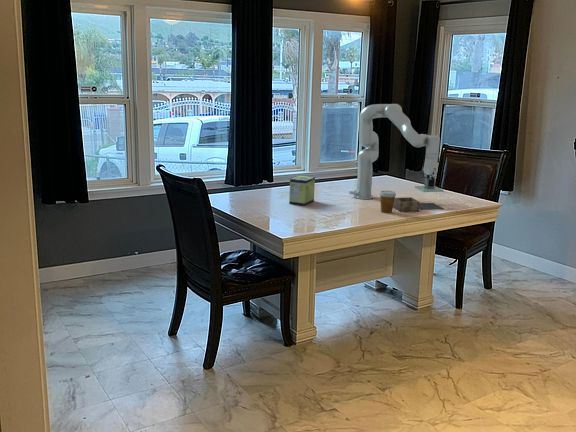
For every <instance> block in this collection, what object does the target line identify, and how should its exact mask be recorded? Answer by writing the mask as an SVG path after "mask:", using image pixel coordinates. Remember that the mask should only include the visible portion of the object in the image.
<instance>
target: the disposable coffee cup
mask: <svg viewBox="0 0 576 432" xmlns="http://www.w3.org/2000/svg"><path fill="white" fill-rule="evenodd" d="M396 195H397V194H396V192H395V191H392V190H381V191H380V193H379V197H380V212H381V213H383V214H391V213H393V209H394V208H393V204H394V199H395V198H396V197H397V196H396Z"/></svg>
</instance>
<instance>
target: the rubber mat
mask: <svg viewBox="0 0 576 432" xmlns="http://www.w3.org/2000/svg"><path fill="white" fill-rule="evenodd" d="M419 210H420V211H421V210H422V211H424V210H445V208H444V207H442V206H441V205H438V204H436V203H435V202H420V203H419Z"/></svg>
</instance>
